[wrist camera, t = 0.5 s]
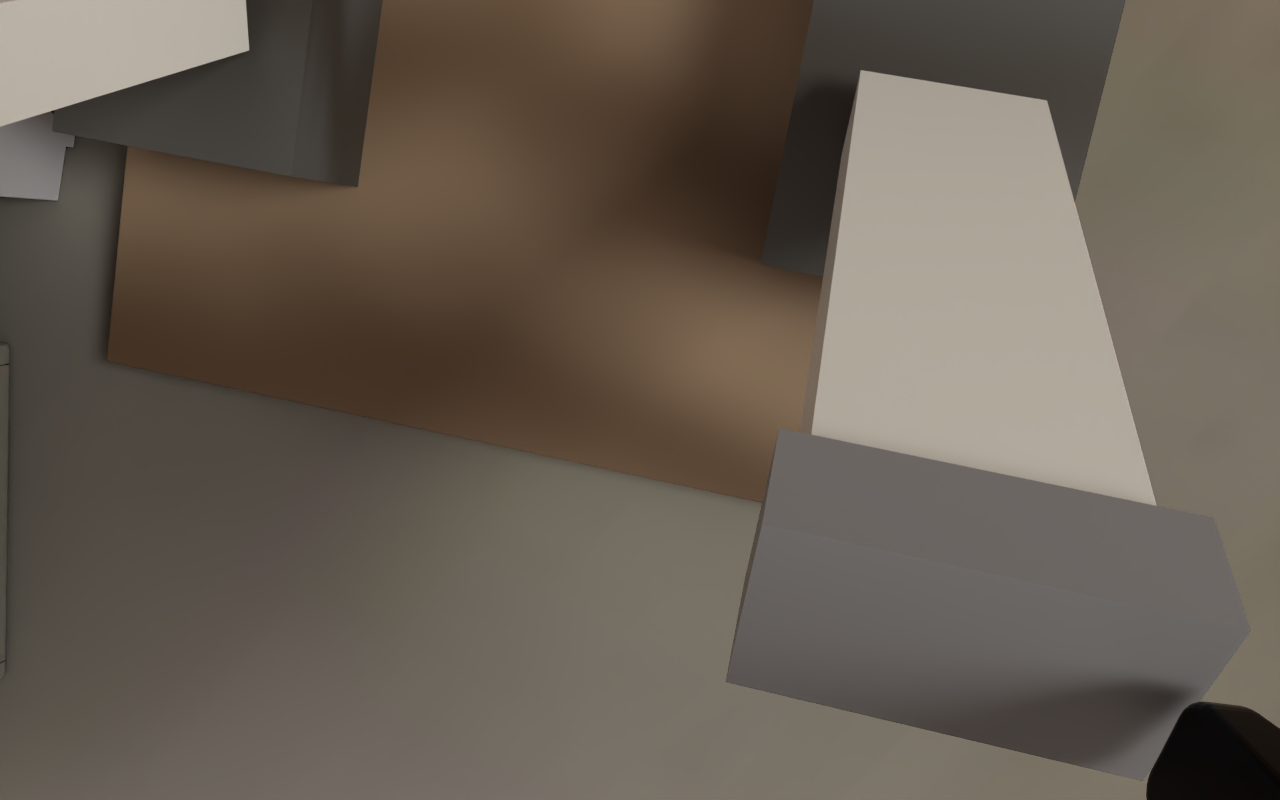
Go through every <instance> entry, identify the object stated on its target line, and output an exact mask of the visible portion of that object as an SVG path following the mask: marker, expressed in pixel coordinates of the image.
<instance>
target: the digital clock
mask: <svg viewBox="0 0 1280 800" xmlns="http://www.w3.org/2000/svg"><path fill="white" fill-rule="evenodd" d="M9 362H10V347H9V344H7V343H4V342H0V679H2V678H3V677H4V676H5V670H6V659H5V658H6V593H7V517H8V441H9V365H10V364H9Z"/></svg>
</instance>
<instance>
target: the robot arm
mask: <svg viewBox="0 0 1280 800" xmlns="http://www.w3.org/2000/svg"><path fill="white" fill-rule="evenodd" d="M1146 797H1147V800H1280V728H1278V727H1277V726H1275V725H1274V724H1272V723H1271V722H1270V721H1268V720H1267V719H1265V718H1264V717H1263V716H1261V715H1260V714H1258V713H1257V712H1255V711H1253V710H1251V709H1249V708H1246V707H1243V706H1237V705H1229V704H1220V703H1211V702H1196V703H1192V704H1191V705H1189V706H1188V707H1186V708H1185V709H1184V710H1183V711H1182V713H1181V714H1180V716H1179V718H1178V720H1177V722H1176V724H1175V726H1174V728H1173V730H1172V731H1171V733H1170V735H1169V737H1168V739H1167V741H1166V743H1165V745H1164V747H1163V749H1162V751H1161V753H1160V755H1159V757H1158V758H1157V760H1156V762H1155V764H1154V766H1153V768H1152V770H1151V772H1150V775H1149V778H1148V783H1147V792H1146Z"/></svg>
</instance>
